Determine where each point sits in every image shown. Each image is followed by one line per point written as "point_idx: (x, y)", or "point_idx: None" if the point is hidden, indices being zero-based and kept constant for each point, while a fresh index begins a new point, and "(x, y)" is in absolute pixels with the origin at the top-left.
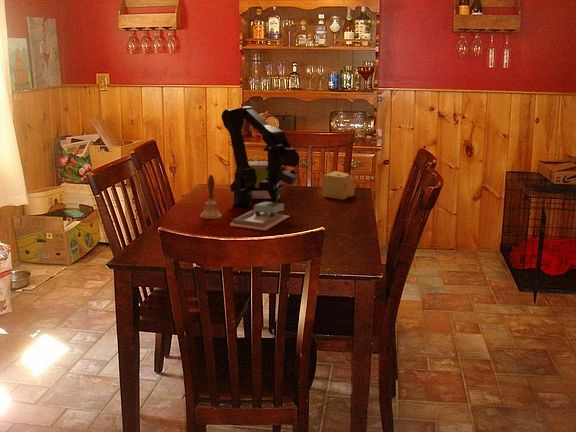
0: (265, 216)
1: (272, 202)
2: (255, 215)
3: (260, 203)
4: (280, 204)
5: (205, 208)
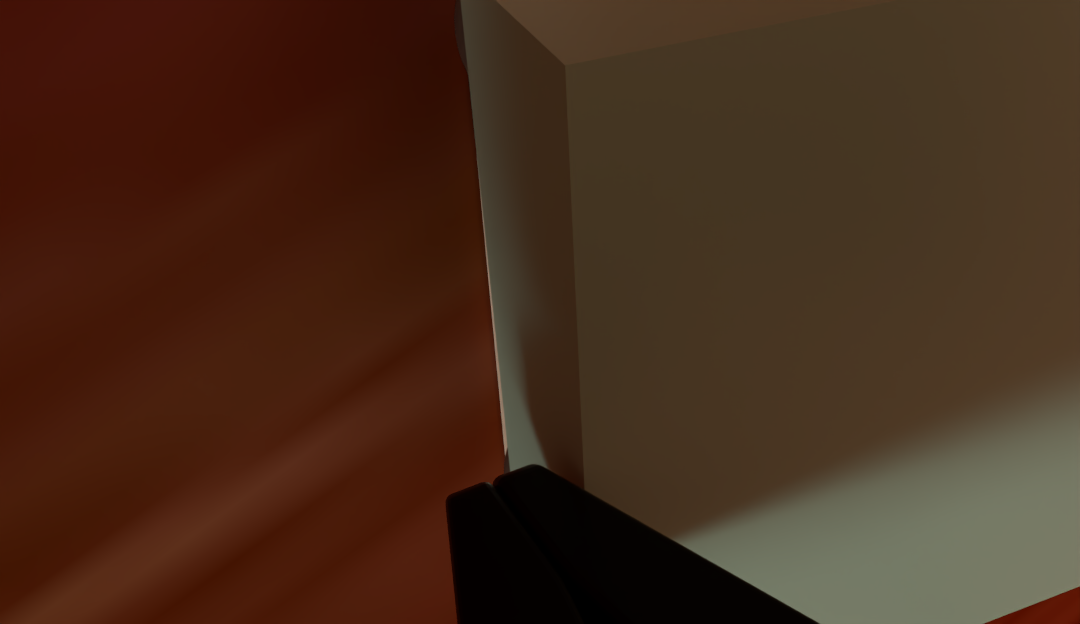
0: None
1: None
2: None
3: (1020, 585)
4: (943, 34)
5: None
